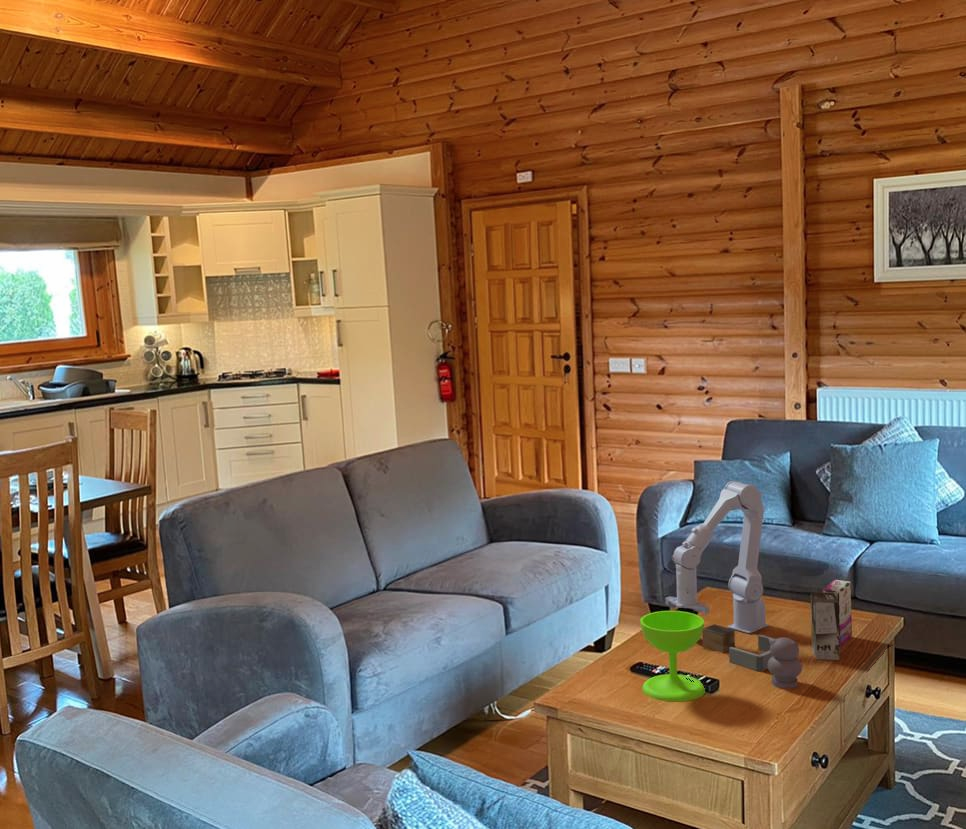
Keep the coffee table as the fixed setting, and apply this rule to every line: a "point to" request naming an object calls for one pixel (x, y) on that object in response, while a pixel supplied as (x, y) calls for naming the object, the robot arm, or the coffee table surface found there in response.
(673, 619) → the wineglass
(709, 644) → the brown block
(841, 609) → the candy bar box
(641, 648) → the coffee table surface
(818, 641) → the coffee box
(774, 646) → the grey stacked figurine
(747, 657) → the bay
